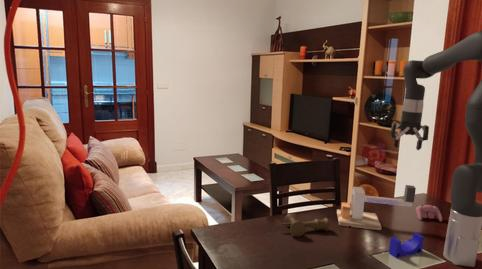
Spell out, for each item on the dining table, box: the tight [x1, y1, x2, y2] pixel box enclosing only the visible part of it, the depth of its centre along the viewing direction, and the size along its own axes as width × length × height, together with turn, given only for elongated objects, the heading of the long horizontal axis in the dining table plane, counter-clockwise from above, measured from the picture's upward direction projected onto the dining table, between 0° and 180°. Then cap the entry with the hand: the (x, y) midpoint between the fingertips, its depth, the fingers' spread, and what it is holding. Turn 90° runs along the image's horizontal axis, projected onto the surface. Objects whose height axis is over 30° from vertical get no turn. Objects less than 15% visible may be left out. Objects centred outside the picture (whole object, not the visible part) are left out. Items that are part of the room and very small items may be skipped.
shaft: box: [364, 184, 416, 208], centre depth 141 cm, size 3×18×8 cm, turn 80°
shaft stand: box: [336, 186, 383, 231], centre depth 144 cm, size 13×16×14 cm
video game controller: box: [415, 204, 443, 223], centre depth 150 cm, size 10×5×7 cm, turn 86°
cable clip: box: [388, 232, 425, 259], centre depth 122 cm, size 12×4×6 cm, turn 112°
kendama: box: [278, 212, 331, 237], centre depth 134 cm, size 6×10×20 cm
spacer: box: [340, 201, 351, 219], centre depth 145 cm, size 5×3×5 cm, turn 170°
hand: (406, 148), depth 146 cm, fingers open, 8 cm apart
